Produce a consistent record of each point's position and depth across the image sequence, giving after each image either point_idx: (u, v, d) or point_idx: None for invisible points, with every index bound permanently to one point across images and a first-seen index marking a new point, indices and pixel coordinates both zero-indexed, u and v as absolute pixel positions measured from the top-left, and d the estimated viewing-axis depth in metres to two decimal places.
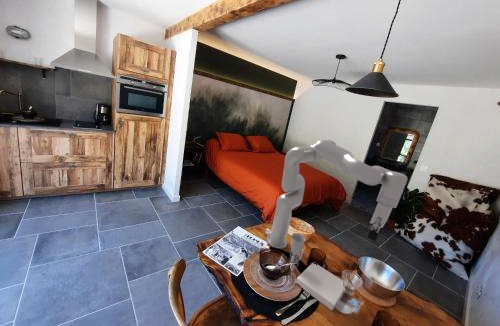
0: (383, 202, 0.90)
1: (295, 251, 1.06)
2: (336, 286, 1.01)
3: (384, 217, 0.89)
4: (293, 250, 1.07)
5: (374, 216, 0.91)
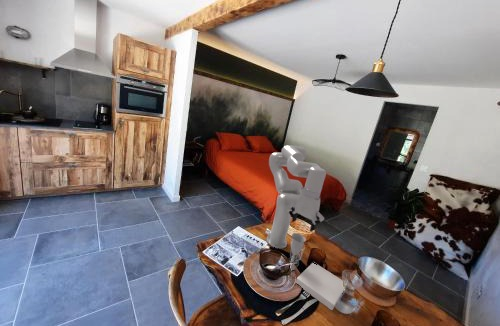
0: (317, 197, 0.98)
1: (295, 251, 1.06)
2: (336, 286, 1.01)
3: None
4: (293, 250, 1.07)
5: (315, 212, 0.98)
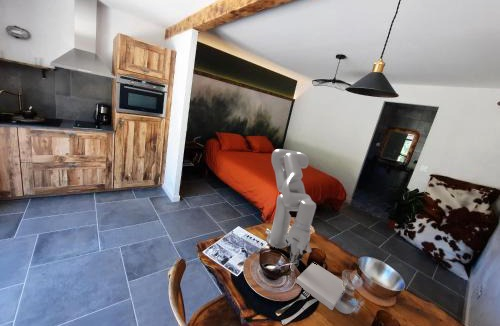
0: (308, 229, 1.03)
1: (295, 251, 1.06)
2: (336, 286, 1.01)
3: (309, 239, 1.05)
4: (293, 250, 1.07)
5: (306, 243, 1.03)
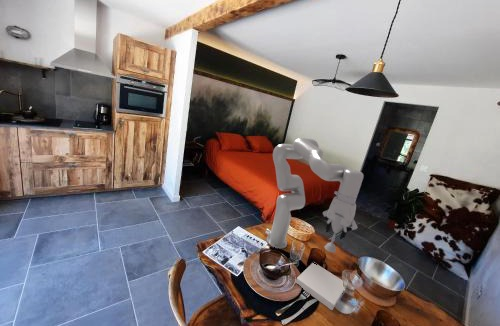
0: (354, 202, 0.90)
1: (338, 228, 0.94)
2: (336, 286, 1.01)
3: (354, 214, 0.92)
4: (335, 227, 0.94)
5: (351, 219, 0.90)
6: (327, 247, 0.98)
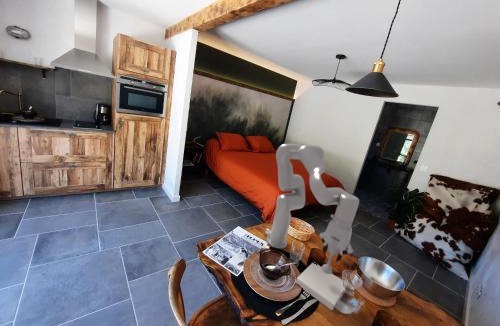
0: (349, 227, 0.92)
1: (334, 251, 0.96)
2: (336, 286, 1.01)
3: None
4: (331, 250, 0.96)
5: (347, 243, 0.92)
6: (323, 268, 1.00)
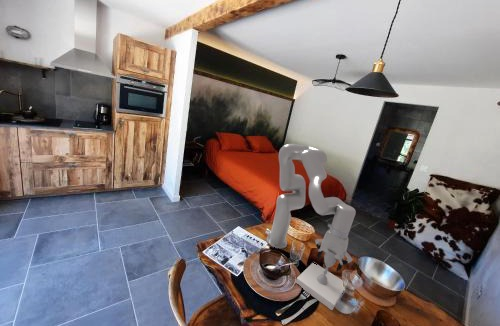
0: (346, 237, 0.93)
1: (330, 264, 0.97)
2: (336, 286, 1.01)
3: (346, 248, 0.96)
4: (327, 262, 0.98)
5: (344, 253, 0.94)
6: (319, 279, 1.02)
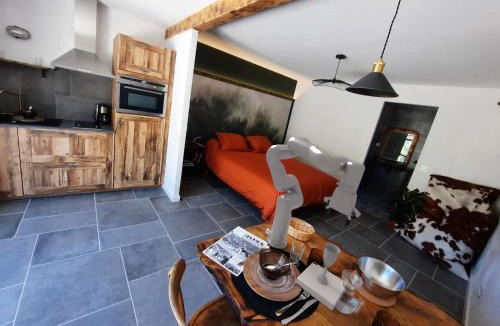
0: (354, 192, 0.96)
1: (329, 263, 0.98)
2: (336, 286, 1.01)
3: None
4: (326, 262, 0.98)
5: (352, 208, 0.96)
6: (319, 279, 1.02)
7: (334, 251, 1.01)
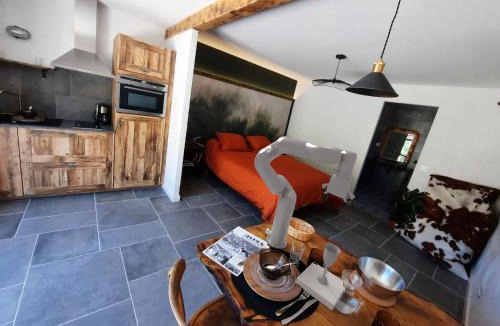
0: (349, 178, 1.10)
1: (329, 263, 0.98)
2: (336, 286, 1.01)
3: (349, 188, 1.12)
4: (327, 262, 0.98)
5: (347, 191, 1.10)
6: (319, 279, 1.02)
7: (334, 251, 1.01)
